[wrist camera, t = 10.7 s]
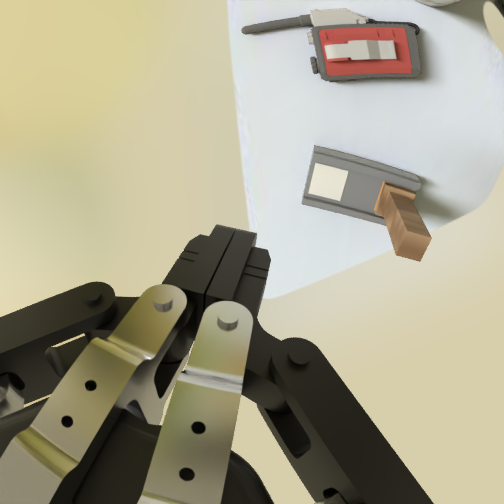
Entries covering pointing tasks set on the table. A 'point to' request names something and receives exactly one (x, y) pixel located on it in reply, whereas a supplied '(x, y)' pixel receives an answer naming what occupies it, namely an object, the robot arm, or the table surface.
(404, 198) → the brown wooden block
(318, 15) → the walkie-talkie
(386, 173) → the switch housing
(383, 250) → the table surface
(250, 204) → the table surface
